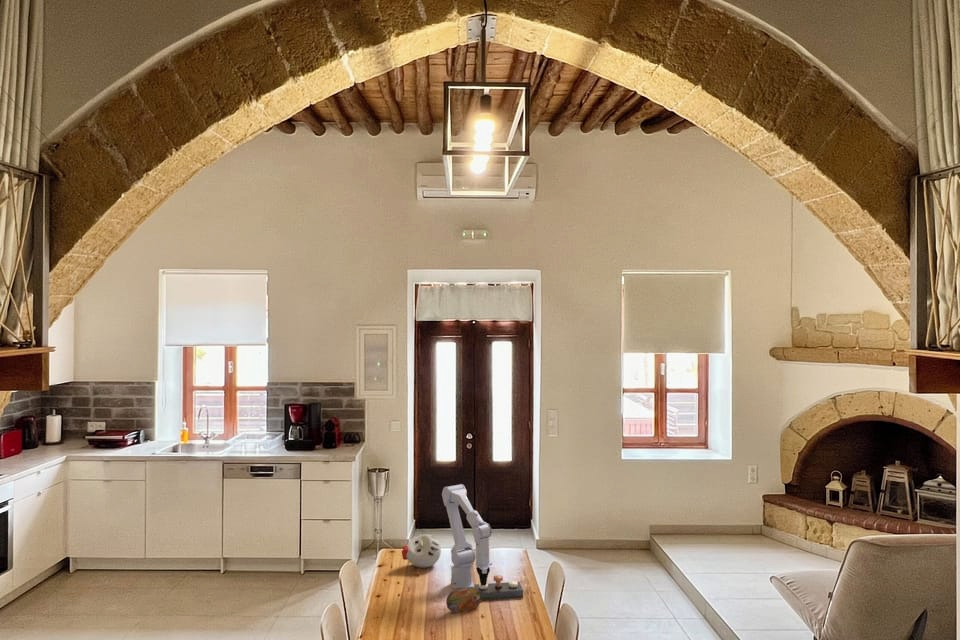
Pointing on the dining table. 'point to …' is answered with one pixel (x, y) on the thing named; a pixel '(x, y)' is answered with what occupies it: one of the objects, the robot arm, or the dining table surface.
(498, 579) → the middle knob
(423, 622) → the dining table surface
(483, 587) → the knob
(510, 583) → the knob
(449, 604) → the multicolored oval slab
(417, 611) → the dining table surface
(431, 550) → the decorative object
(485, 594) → the knob plate
